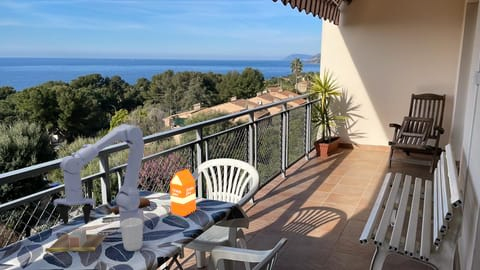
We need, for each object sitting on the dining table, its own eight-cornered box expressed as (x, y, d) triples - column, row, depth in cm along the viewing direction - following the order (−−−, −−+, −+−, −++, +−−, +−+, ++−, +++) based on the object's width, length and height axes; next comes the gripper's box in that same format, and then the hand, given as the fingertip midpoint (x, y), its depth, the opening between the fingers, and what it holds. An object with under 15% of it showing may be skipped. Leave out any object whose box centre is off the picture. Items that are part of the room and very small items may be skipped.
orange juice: (196, 210, 176) (194, 169, 173) (183, 216, 169) (182, 174, 166) (183, 207, 180) (182, 167, 177) (170, 213, 173) (169, 171, 170)
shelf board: (107, 235, 150) (107, 231, 150) (94, 252, 136) (94, 248, 136) (63, 236, 150) (62, 232, 150) (45, 253, 136) (44, 249, 136)
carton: (86, 241, 144) (85, 229, 143) (80, 248, 138) (78, 236, 137) (76, 241, 144) (75, 229, 143) (69, 249, 138) (68, 236, 137)
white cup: (132, 254, 135) (130, 228, 133) (117, 248, 139) (115, 223, 137) (148, 245, 141) (147, 220, 140) (133, 240, 146) (132, 216, 144)
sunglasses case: (142, 201, 189) (145, 191, 186) (148, 211, 186) (151, 201, 182) (107, 210, 178) (110, 200, 174) (113, 220, 174) (115, 211, 170)
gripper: (48, 192, 133) (51, 227, 136) (88, 191, 133) (91, 227, 136) (57, 186, 140) (61, 220, 142) (96, 185, 140) (98, 219, 143)
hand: (76, 223), depth 140 cm, fingers open, 7 cm apart
